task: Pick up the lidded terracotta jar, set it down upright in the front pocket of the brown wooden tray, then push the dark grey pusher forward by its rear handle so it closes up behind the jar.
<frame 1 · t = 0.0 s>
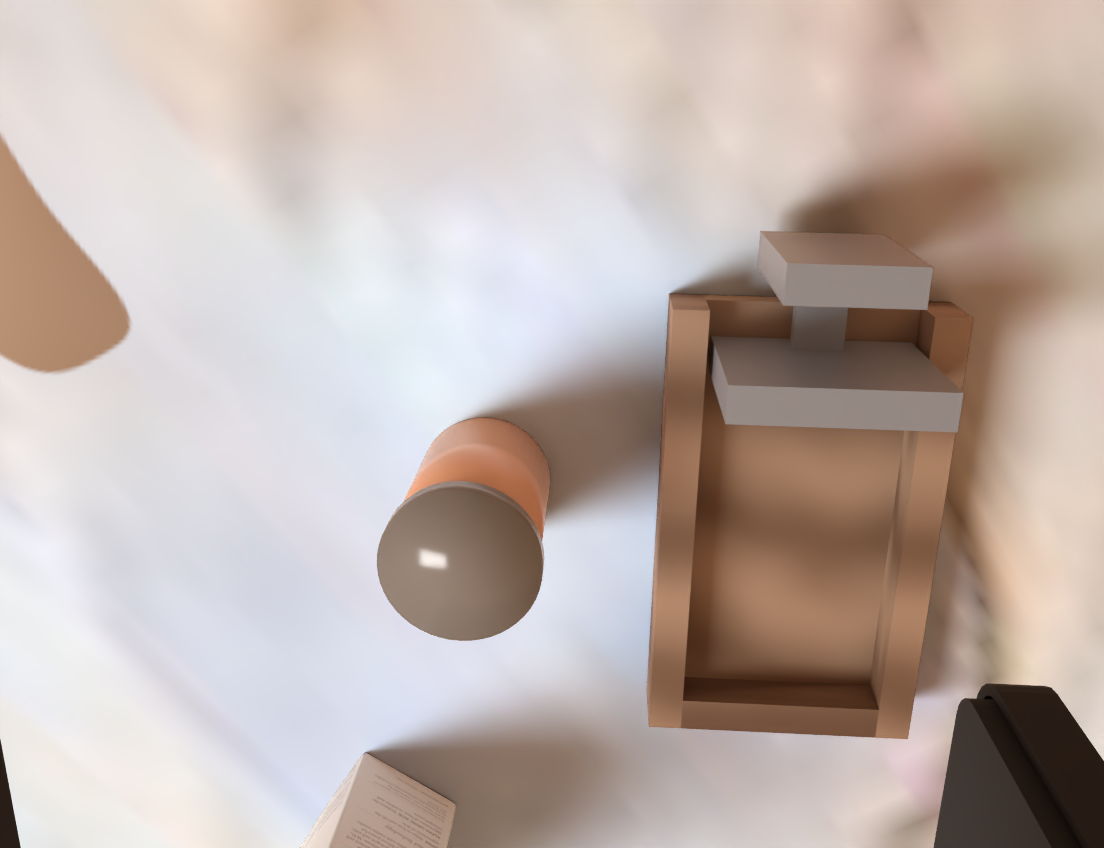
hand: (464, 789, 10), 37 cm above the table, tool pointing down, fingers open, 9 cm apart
pusher: (830, 325, 41), point 5 cm above the table, slide at 0.0 cm
skincare box: (375, 820, 56), on the table
jar: (485, 478, 49), on the table
brown wooden tray: (787, 510, 49), on the table
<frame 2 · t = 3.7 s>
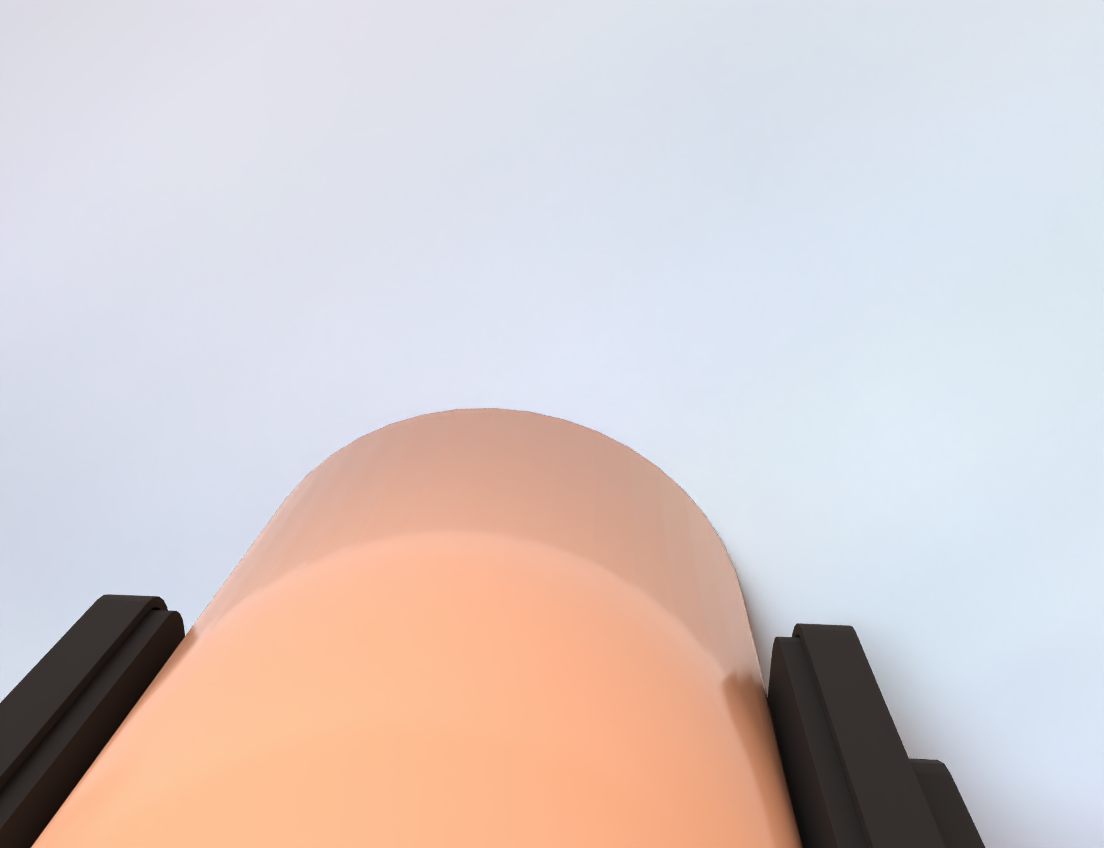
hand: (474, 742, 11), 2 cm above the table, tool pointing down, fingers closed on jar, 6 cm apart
jar: (493, 647, 13), on the table, touching gripper
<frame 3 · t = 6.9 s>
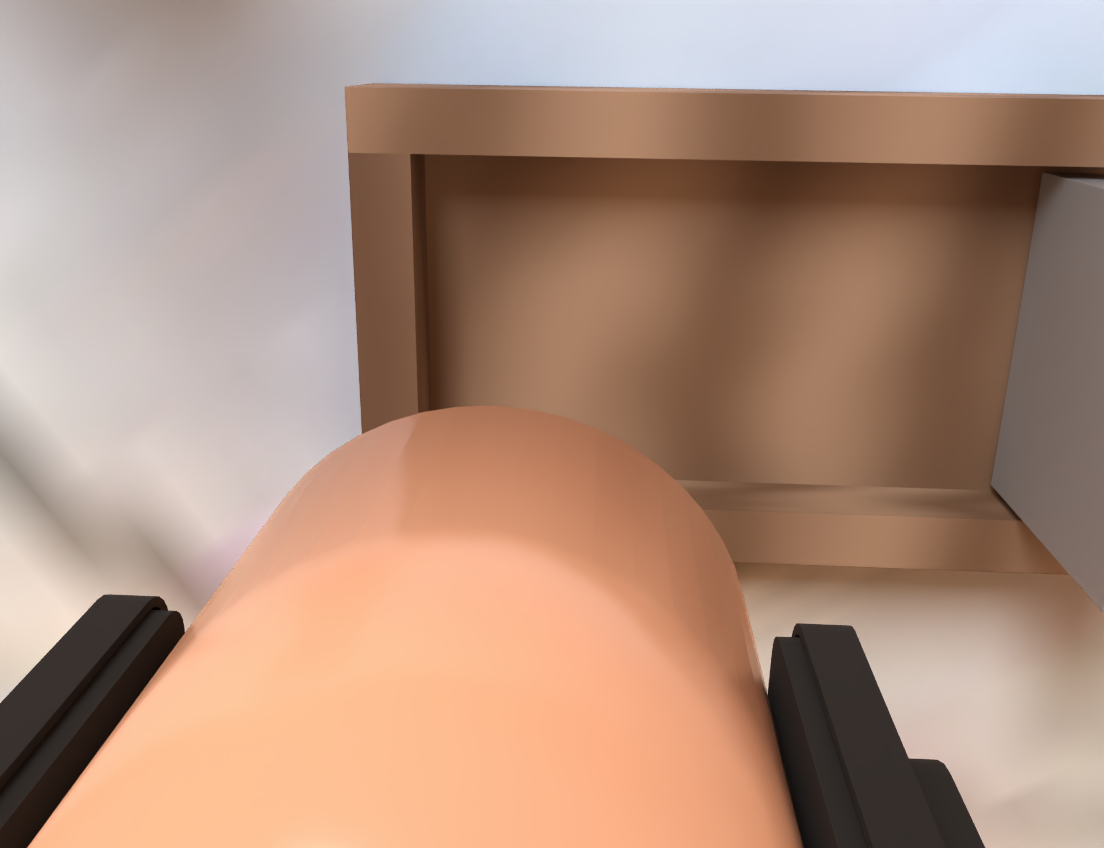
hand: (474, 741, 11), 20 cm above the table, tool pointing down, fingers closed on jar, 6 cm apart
jar: (493, 645, 13), point 18 cm above the table, touching gripper
brown wooden tray: (740, 317, 29), on the table
when the fingers open (4 cm above the table, at t = 10.2 s): jar drops 2 cm, resting on brown wooden tray.
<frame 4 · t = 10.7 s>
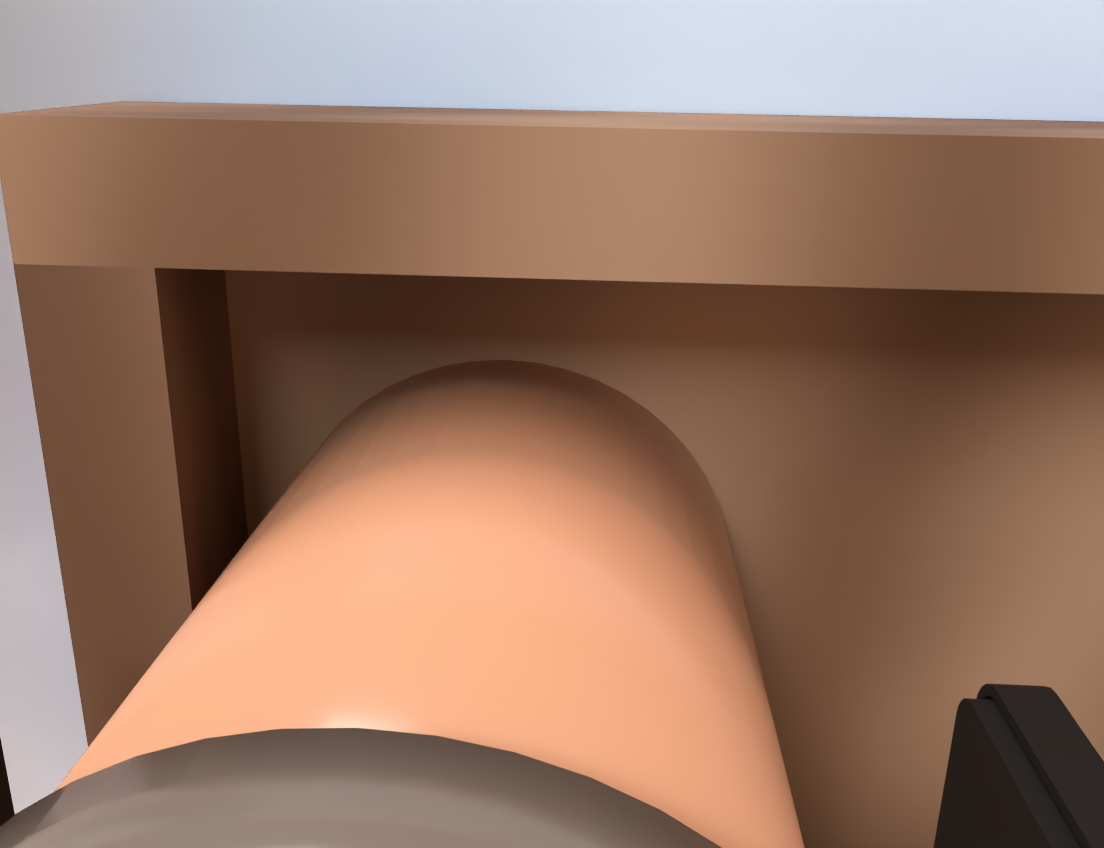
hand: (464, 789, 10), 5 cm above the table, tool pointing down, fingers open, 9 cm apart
jar: (505, 575, 14), point 1 cm above the table, touching brown wooden tray
brown wooden tray: (866, 559, 15), on the table
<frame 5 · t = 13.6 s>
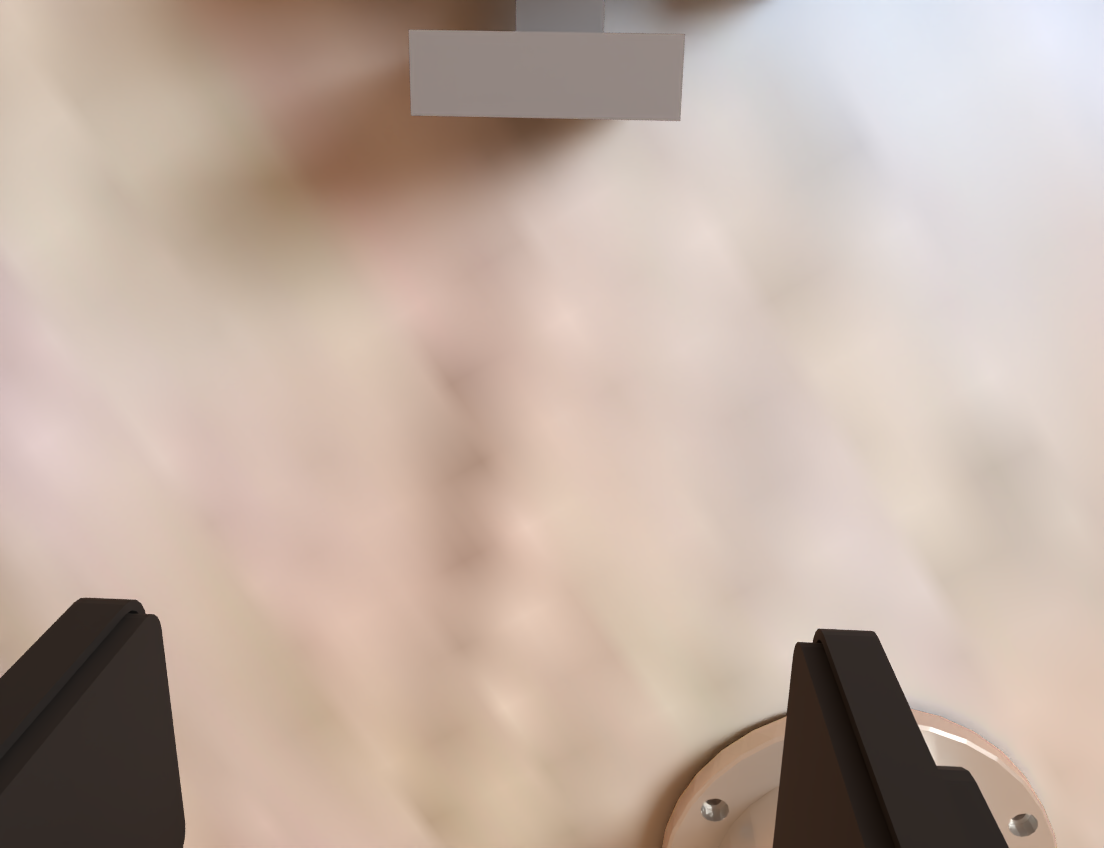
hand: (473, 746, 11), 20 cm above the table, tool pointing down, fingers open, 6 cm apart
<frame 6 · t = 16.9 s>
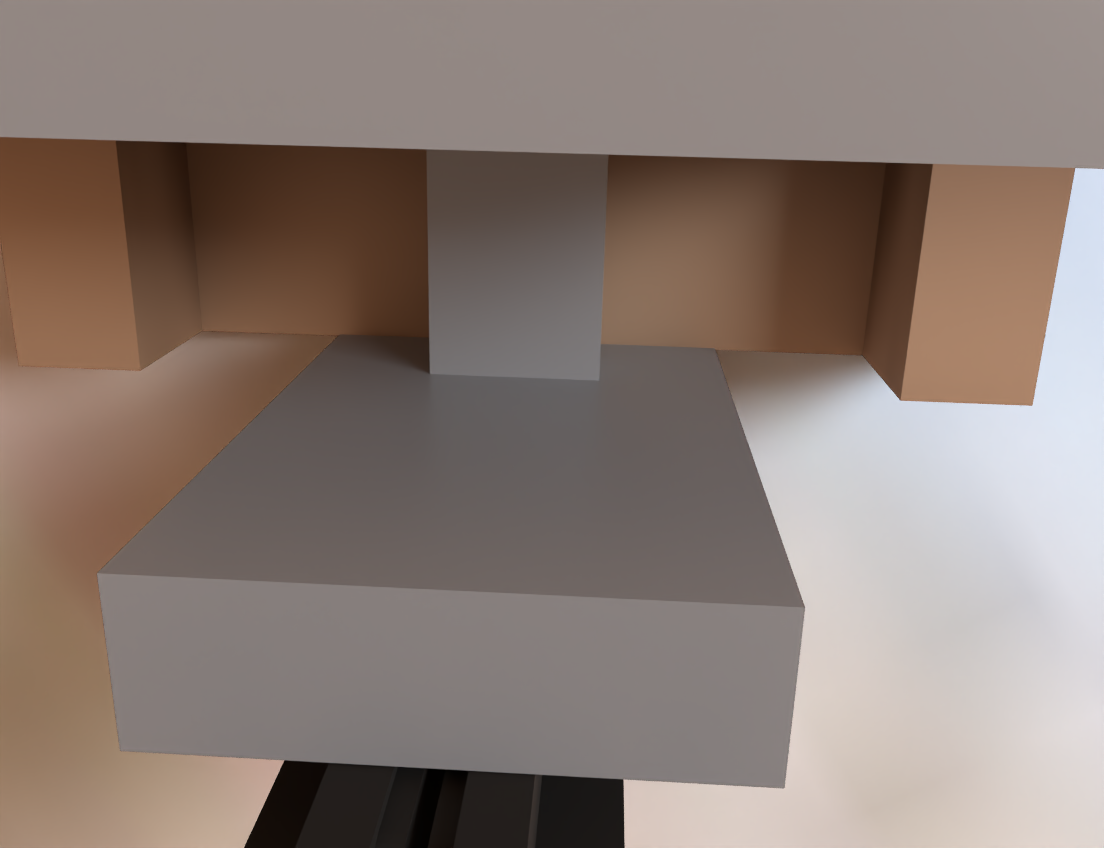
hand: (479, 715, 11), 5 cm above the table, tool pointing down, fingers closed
pusher: (499, 281, 10), point 5 cm above the table, slide at 1.6 cm, touching gripper
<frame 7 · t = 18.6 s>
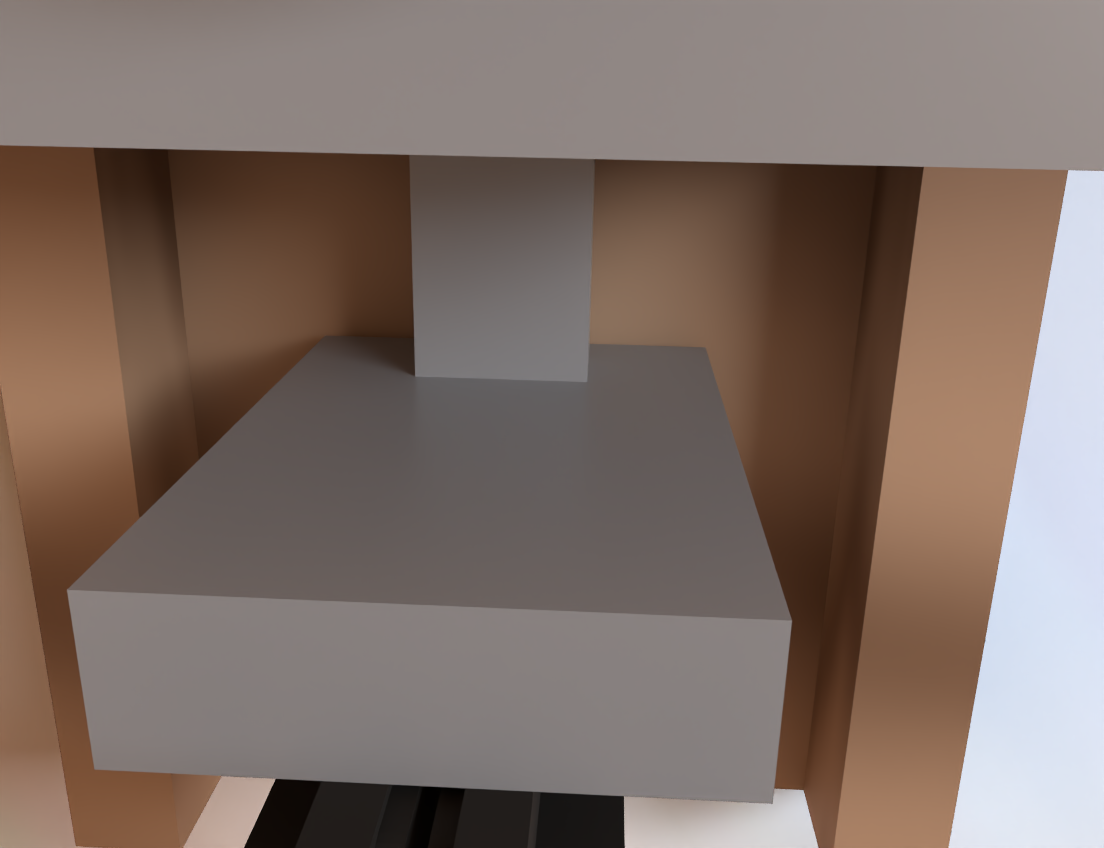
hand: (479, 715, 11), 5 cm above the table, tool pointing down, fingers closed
pusher: (482, 283, 10), point 5 cm above the table, slide at 8.6 cm, touching gripper
brown wooden tray: (523, 104, 14), on the table
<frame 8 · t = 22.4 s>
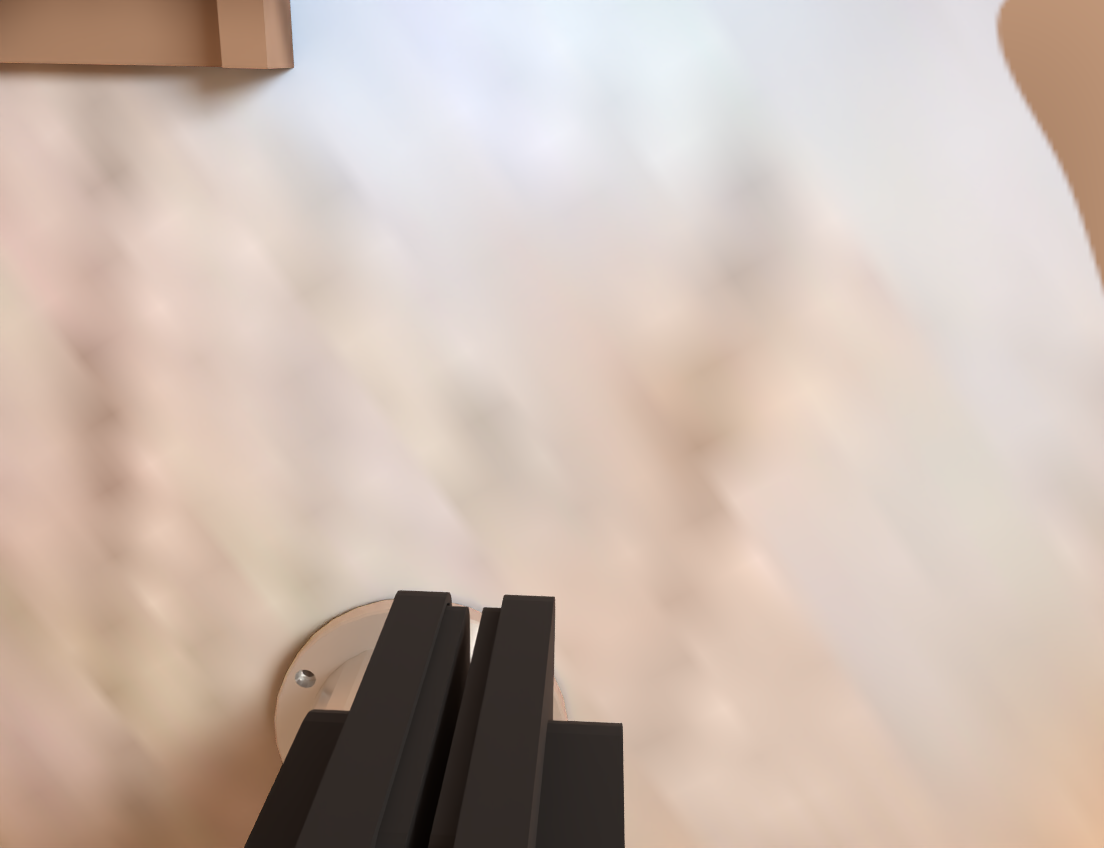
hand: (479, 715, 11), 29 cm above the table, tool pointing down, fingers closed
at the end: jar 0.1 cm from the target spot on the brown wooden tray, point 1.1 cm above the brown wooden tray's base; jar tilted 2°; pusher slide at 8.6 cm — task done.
